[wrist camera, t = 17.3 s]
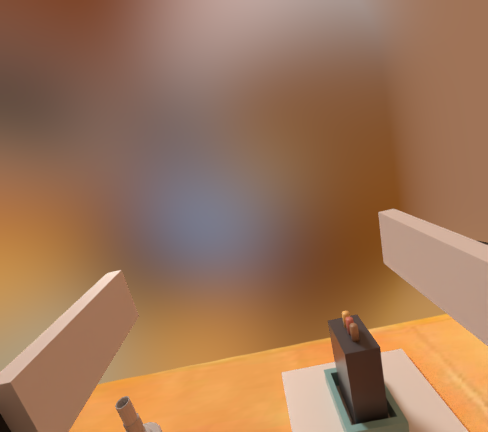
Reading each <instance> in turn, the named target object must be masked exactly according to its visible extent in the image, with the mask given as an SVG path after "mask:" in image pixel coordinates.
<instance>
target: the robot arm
mask: <svg viewBox="0 0 488 432" xmlns="http://www.w3.org/2000/svg"><path fill="white" fill-rule="evenodd" d="M378 214H379V223H380V232H381V241H382V251H383V259H384V264H386V265H387V266H388V267H389V268H391V269H392V270H393V271H394V272H396V273H397V274H398V275H399V276H401V277H402V278H403V279H404V280H406V281H407V282H408V283H409V284H411V285H412V286H413V287H414V288H416V289H417V290H418V291H419V292H421V293H422V294H423V295H424V296H426V297H427V298H428V299H429V300H431V301H432V302H433V303H435V304H436V305H437V306H438V307H439V308H441V309H442V310H443V311H444V312H446V313H447V314H448V315H449V316H451V317H452V318H453V319H454V320H456V321H457V322H458V323H459V324H461V325H462V326H463V327H464V328H466V329H467V330H468V331H470V332H471V333H472V334H473V335H475V336H476V337H477V338H478V339H480V340H481V341H482V342H483V343H485V344H486V345H487V346H488V243H486V242H481V241H475V240H473V239H471V238H468V237H465V236H463V235H460V234H458V233H455V232H453V231H450V230H447V229H445V228H442V227H440V226H437V225H435V224H432V223H429V222H427V221H424V220H421V219H419V218H416V217H414V216H411V215H409V214H406V213H404V212H401V211H399V210H396V209H391V210H386V211H382V212H378ZM138 316H139V315H138V312H137V310H136V307H135V304H134V302H133V300H132V297H131V294H130V292H129V289H128V286H127V284H126V281H125V278H124V276H123V273H122V271H121V270H119V271H114V272H110V273H107V274H106V275H105V276H103V277H102V278H101V279H100V280H99V281H98V282H97V283H96V284H95V285H94V286H93V287H92V288H91V289H89V290H88V291H87V292H86V293H85V294H84V295H83V296H82V297H81V298H80V299H79V300H78V301H77V302H75V303H74V304H73V305H72V306H71V307H70V308H69V309H68V310H67V311H66V312H65V313H64V314H62V315H61V316H60V317H59V318H58V319H57V320H56V321H55V322H54V323H53V324H52V325H51V326H50V327H49V328H48V329H46V330H45V331H44V332H43V333H42V334H41V335H40V336H39V337H38V338H37V339H36V340H34V341H33V342H32V343H31V344H30V345H29V346H28V347H27V348H26V349H25V350H24V351H23V352H22V353H20V354H19V355H18V356H17V357H16V358H15V359H14V360H13V361H12V362H11V363H10V364H9V365H8V366H6V367H5V368H4V369H3V370H2V371H1V372H0V432H68V431H69V430H70V428H71V427H72V425H73V423H74V422H75V420H76V418H77V417H78V415H79V413H80V412H81V410H82V409H83V407H84V405H85V404H86V402H87V400H88V399H89V397H90V395H91V394H92V392H93V390H94V389H95V387H96V386H97V384H98V382H99V380H100V379H101V377H102V376H103V374H104V372H105V371H106V369H107V367H108V366H109V364H110V363H111V361H112V359H113V357H114V356H115V354H116V353H117V351H118V349H119V348H120V346H121V345H122V343H123V341H124V340H125V338H126V336H127V335H128V333H129V331H130V330H131V328H132V326H133V325H134V323H135V322H136V320H137V318H138Z"/></svg>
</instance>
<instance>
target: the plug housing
mask: <svg viewBox="0 0 488 432" xmlns="http://www.w3.org/2000/svg"><path fill="white" fill-rule="evenodd" d="M328 325H329V331H330V337H331V342H332V348H333V354H334V359H335V365H336V371H337V376H338V382H339V388H340V391H341V394H342V396H343V399H344V401H345V404H346V406H347V408H348V411H349V413H350V416H351V418H352V421H353V423H354V425H355V424H360V423H365V422H371V421H376V420H381V419H387V418H389V417H388V409H387V400H386V392H385V384H384V376H383V368H382V360H381V352H380V347H379V345H378V344H377V342H376V341H375V339H374V338H373V337H372V335H371V334H370V332H369V331H368V329H367V328H366V327H365V325H364V324H363V322H362V321H361V320H360V318H359V317H358V315H353V316H350V314H349V312H348V311H343V312H342V318H339V319H334V320H329V321H328Z"/></svg>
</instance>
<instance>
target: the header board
mask: <svg viewBox="0 0 488 432" xmlns="http://www.w3.org/2000/svg"><path fill="white" fill-rule="evenodd" d="M381 360H382V368H383V376H384V384H385V392H386V400H387V409H388V417H389V418H387V419H381V420H376V421H371V422H365V423H360V424H355V425H354V423H353V421H352V418H351V416H350V413H349V411H348V408H347V406H346V404H345V401H344V399H343V396H342V394H341V391H340V388H339V382H338V376H337V371H336V365H335V362H332V363H327V364H322V365H317V366H312V367H307V368H302V369H297V370H292V371H287V372H282V379H283V384H284V390H285V395H286V401H287V406H288V412H289V417H290V423H291V428H292V432H468V431H467V429H466V428H465V427H464V426H463V424H462V423H461V422H460V421H459V419H458V418H457V417H456V416H455V414H454V413H453V412H452V411H451V409H450V408H449V407H448V406H447V405H446V403H445V402H444V401H443V400H442V398H441V397H440V396H439V395H438V393H437V392H436V391H435V390H434V388H433V387H432V386H431V385H430V383H429V382H428V381H427V380H426V378H425V377H424V376H423V375H422V373H421V372H420V371H419V370H418V369H417V367H416V366H415V365H414V364H413V362H412V361H411V360H410V359H409V357H408V356H407V355H406V354H405V352H404V351H403V350H402V349H397V350H392V351H387V352H382V353H381Z"/></svg>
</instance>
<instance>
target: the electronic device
mask: <svg viewBox="0 0 488 432" xmlns="http://www.w3.org/2000/svg"><path fill="white" fill-rule="evenodd" d="M115 407H116V409H117V411H118V413H119V415H120V417H121V419H122V421H123V426H124V427H125V429H126V432H162V430H161V428H160V426H159V425H158V424H157V423H152V422H149V423H145V424H143V423H142V421H141V419H140V417H139V415H138V413H136V411H135V409H134V407H133V405H132V403H131V401H130V399H129V397H128V396H125V397H122V398H121V399H120V400H119V401H118V402H117V403H116V406H115Z"/></svg>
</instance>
